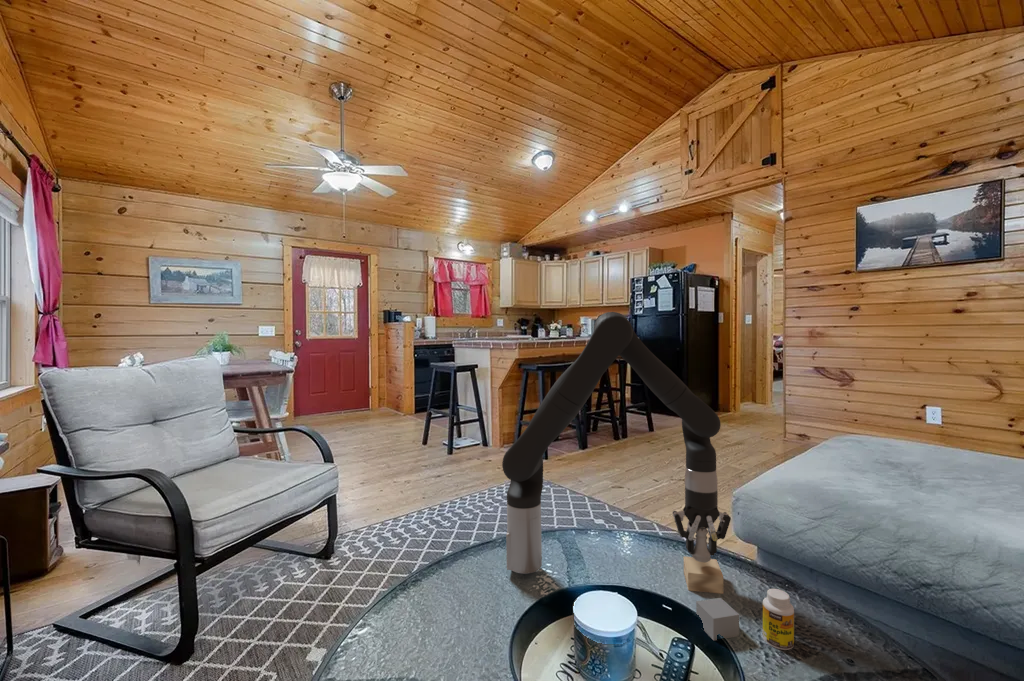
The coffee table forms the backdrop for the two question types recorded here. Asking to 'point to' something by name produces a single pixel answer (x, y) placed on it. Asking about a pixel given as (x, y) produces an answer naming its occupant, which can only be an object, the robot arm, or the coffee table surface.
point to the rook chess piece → (701, 546)
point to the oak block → (703, 575)
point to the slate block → (718, 618)
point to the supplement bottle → (778, 620)
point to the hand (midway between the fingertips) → (701, 553)
